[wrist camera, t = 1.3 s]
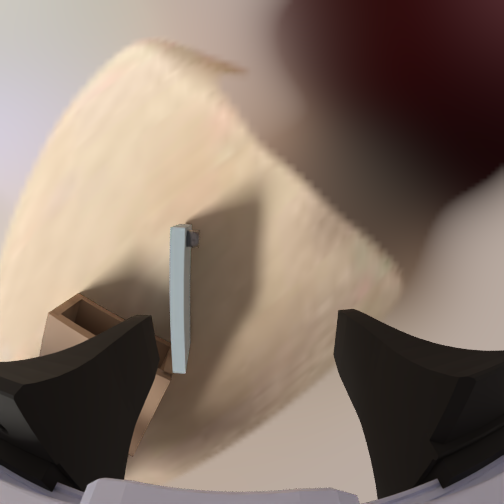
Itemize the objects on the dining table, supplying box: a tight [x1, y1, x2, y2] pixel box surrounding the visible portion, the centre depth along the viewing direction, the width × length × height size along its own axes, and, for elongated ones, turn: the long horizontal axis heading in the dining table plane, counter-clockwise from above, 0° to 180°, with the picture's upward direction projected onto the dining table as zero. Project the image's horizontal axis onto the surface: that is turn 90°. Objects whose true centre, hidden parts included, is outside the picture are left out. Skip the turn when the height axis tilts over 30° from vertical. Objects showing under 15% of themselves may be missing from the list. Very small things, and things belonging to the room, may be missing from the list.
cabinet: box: [39, 293, 173, 457], centre depth 18 cm, size 9×9×5 cm
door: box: [170, 224, 200, 374], centre depth 18 cm, size 2×9×5 cm, turn 177°
